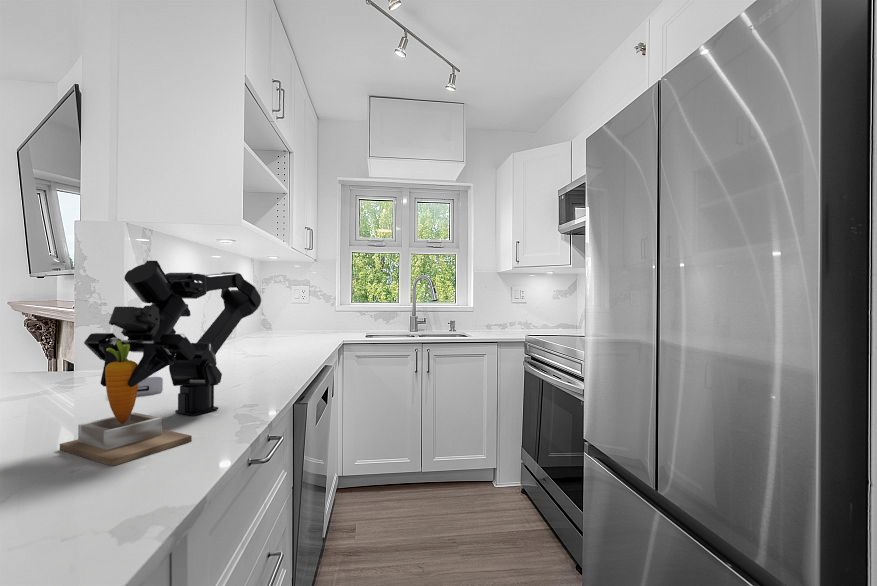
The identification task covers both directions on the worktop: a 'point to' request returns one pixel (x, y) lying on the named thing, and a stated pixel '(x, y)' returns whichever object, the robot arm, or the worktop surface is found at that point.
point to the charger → (151, 385)
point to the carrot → (120, 383)
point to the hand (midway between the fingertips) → (116, 385)
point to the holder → (123, 439)
